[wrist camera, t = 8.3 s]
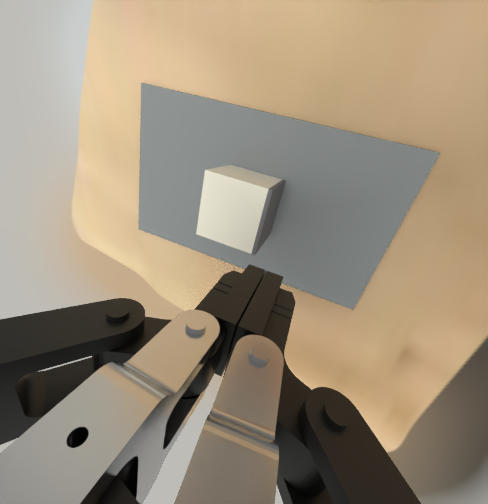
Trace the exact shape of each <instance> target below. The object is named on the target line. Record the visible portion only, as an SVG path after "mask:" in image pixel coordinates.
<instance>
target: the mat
mask: <svg viewBox="0 0 488 504" xmlns="http://www.w3.org/2000/svg"><path fill="white" fill-rule="evenodd" d="M439 155H440V153H439V152H434V151H430V150H426V149H421V148H417V147H413V146H409V145H404V144H400V143H396V142H392V141H387V140H383V139H379V138H375V137H370V136H366V135H362V134H358V133H353V132H349V131H345V130H341V129H336V128H332V127H328V126H324V125H319V124H315V123H311V122H307V121H302V120H298V119H294V118H289V117H285V116H281V115H277V114H272V113H268V112H264V111H260V110H255V109H251V108H247V107H243V106H238V105H234V104H230V103H226V102H221V101H217V100H213V99H209V98H204V97H200V96H196V95H192V94H187V93H183V92H179V91H175V90H170V89H166V88H162V87H157V86H153V85H149V84H145V83H141V130H140V183H139V229H140V230H143V231H145V232H148V233H150V234H153V235H156V236H158V237H161V238H164V239H166V240H169V241H172V242H174V243H177V244H180V245H182V246H185V247H188V248H190V249H193V250H196V251H198V252H201V253H204V254H206V255H209V256H212V257H214V258H217V259H220V260H222V261H225V262H227V263H230V264H233V265H235V266H238V267H241V268H243V269H246V268H247V266H248V265H249V264H251V265H253V266H256V267H259V268H262V269H264V270H266V271H270V272H273V273H275V274H278V275H281V276H283V280H282V283H283V284H286V285H289V286H291V287H294V288H297V289H299V290H302V291H304V292H307V293H310V294H312V295H315V296H318V297H320V298H323V299H326V300H328V301H331V302H334V303H336V304H339V305H342V306H344V307H347V308H350V309H352V310H353V309H354V307H355V306H356V304H357V302H358V300H359V298H360V297H361V295H362V293H363V291H364V290H365V288H366V286H367V284H368V282H369V281H370V279H371V277H372V275H373V273H374V272H375V270H376V268H377V266H378V264H379V263H380V261H381V259H382V257H383V255H384V254H385V252H386V250H387V248H388V246H389V245H390V243H391V241H392V239H393V237H394V236H395V234H396V232H397V230H398V228H399V227H400V225H401V223H402V221H403V219H404V218H405V216H406V214H407V212H408V210H409V209H410V207H411V205H412V203H413V201H414V200H415V198H416V196H417V194H418V192H419V191H420V189H421V187H422V185H423V184H424V182H425V180H426V178H427V176H428V175H429V173H430V171H431V169H432V167H433V166H434V164H435V162H436V160H437V158H438V157H439ZM228 165H234V166H237V167H241V168H244V169H247V170H251V171H254V172H258V173H261V174H265V175H268V176H272V177H275V178H279V179H282V180H285V181H286V182H285V186H284V189H283V193H282V196H281V199H280V203H279V206H278V210H277V213H276V216H275V220H274V223H273V227H272V230H271V233H270V235H269V237H268V238H267V239H266V241H265V242H264V244H263V245H262V246H261V248H260V249H259V251H258V252H257V253H256V255H252V254H250V253H247V252H244V251H241V250H239V249H236V248H233V247H230V246H227V245H225V244H222V243H219V242H216V241H214V240H211V239H208V238H205V237H203V236H200V235H197V234H196V231H197V224H198V217H199V210H200V202H201V195H202V188H203V181H204V174H205V170H207V169H212V168H217V167H223V166H228ZM265 273H266V272H265Z"/></svg>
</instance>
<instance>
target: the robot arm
mask: <svg viewBox="0 0 488 504" xmlns="http://www.w3.org/2000/svg"><path fill="white" fill-rule="evenodd" d="M265 272H266V273H265ZM282 280H283V276H281V275H278V274H275V273H273V272H270V271H266V270H264V269H262V268H259V267H256V266H253V265H251V264H249V265H248V266H247V268H246V269H245V270H244V272H243V273H242V274H241V273H238V272H236V271H231V272H229V273H226V274H224V275H223V276H222V277H221V279H220V280H219V281H218V283H216V285H215V286H214V287H213V289H211V291H210V292H209V293H208V294H207V295H206V296H205V298H204V299H203V300H202V301H201V302H200V304H199V305H198V306H197V307H196V308H195V310H188V311H185V312H182V313H181V314H178V315H177V316H176V317H175V318H174V319H173V320H165V319H157V318H151V317H145V310H144V308H143V306H142V305H141V304H140V303H139V302H137V301H135V300H132V299H126V298H119V299H111V300H106V301H100V302H95V303H89V304H84V305H78V306H73V307H67V308H62V309H56V310H51V311H45V312H40V313H34V314H28V315H23V316H17V317H12V318H7V319H1V320H0V445H1V444H3V443H5V442H8V441H11V440H14V439H16V438H18V439H17V440H15V441H14V442H13V443H12V444H11V445H9V446H8V447H7V448H6V449H5V450H4V451H3V452H1V453H0V504H142V503H143V501H144V500H145V498H146V496H147V495H148V493H149V491H150V489H151V488H152V486H153V484H154V482H155V480H156V478H157V475H158V474H159V471H160V469H161V466H162V464H163V462H164V460H165V458H166V456H167V454H168V452H169V451H170V449H171V447H172V446H173V444H174V442H175V441H176V439H177V437H178V436H179V434H180V433H181V431H182V429H183V428H184V426H185V424H186V423H187V421H188V419H189V418H190V416H191V415H192V413H193V412H194V410H195V408H196V407H197V405H198V403H199V402H200V400H201V399H202V397H203V395H204V393H205V390H206V388H207V386H208V384H209V383H210V380H211V379H212V377H213V375H214V373H215V374H217V375H220V376H222V374H223V372H224V370H225V373H224V376H223V380H222V383H221V386H220V388H219V391H218V394H217V396H216V399H215V402H214V404H213V407H212V410H211V412H210V414H209V415H208V417H207V419H206V422H205V424H204V427H203V429H202V432H201V434H200V437H199V440H198V442H197V445H196V447H195V450H194V453H193V456H192V458H191V461H190V464H189V466H188V469H187V471H186V474H185V477H184V479H183V482H182V485H181V487H180V490H179V492H178V495H177V498H176V500H175V503H174V504H274V503H275V493H276V484H277V486H278V489H279V492H280V495H281V497H282V501H283V503H284V504H421V503H420V501H419V500H418V498H417V497H416V495H415V494H414V493H413V491H412V489H411V488H410V487H409V485H408V484H407V482H406V481H405V479H404V478H403V476H402V475H401V473H400V472H399V470H398V469H397V467H396V466H395V464H394V463H393V461H392V460H391V459H390V457H389V456H388V454H387V453H386V451H385V450H384V448H383V447H382V445H381V444H380V442H379V441H378V439H377V438H376V436H375V435H374V433H373V432H372V431H371V429H370V428H369V426H368V425H367V423H366V422H365V420H364V419H363V417H362V416H361V414H360V413H359V411H358V410H357V409H356V407H355V406H354V405H353V403H352V402H351V401H350V400H349V399H348V398H346V397H345V396H344V395H343V394H341V393H340V392H338V391H336V390H333V389H331V388H327V387H318V388H315V389H313V390H311V389H310V388H309V387H307V386H306V385H305V384H304V383H302V382H301V381H300V380H299V379H298V378H296V377H295V376H294V374H293V373H292V372H291V371H290V369H289V368H288V366H287V364H286V361H285V358H284V349H285V344H286V340H287V336H288V332H289V327H290V323H291V319H292V315H293V310H294V306H295V300H294V297H293V294H292V293H291V292H289V291H286V290H283V289H281V288H280V286H281V283H282ZM88 356H92V357H91V358H88V359H84V360H81V361H78V362H74V363H71V364H67V365H64V366H60V367H57V368H53V369H50V370H46V371H40V372H37V371H39V370H43V369H46V368H50V367H53V366H57V365H60V364H64V363H67V362H70V361H74V360H78V359H81V358H85V357H88ZM225 368H226V369H225Z"/></svg>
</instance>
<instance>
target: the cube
mask: <svg viewBox="0 0 488 504" xmlns="http://www.w3.org/2000/svg"><path fill="white" fill-rule="evenodd" d="M285 182H286V181H285V180H282V179H279V178H275V177H272V176H268V175H265V174H261V173H258V172H254V171H251V170H247V169H244V168H241V167H237V166H234V165H228V166H223V167H217V168H212V169H207V170H205V174H204V181H203V188H202V195H201V202H200V210H199V217H198V224H197V231H196V234H197V235H200V236H203V237H205V238H208V239H211V240H214V241H216V242H219V243H222V244H225V245H227V246H230V247H233V248H236V249H239V250H241V251H244V252H247V253H250V254H252V255H256V253H257V252H258V251H259V249H260V248H261V246H262V245H263V244H264V242H265V241H266V239H267V238H268V237H269V235H270V233H271V230H272V227H273V223H274V220H275V216H276V213H277V210H278V206H279V203H280V199H281V196H282V193H283V189H284V186H285Z"/></svg>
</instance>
